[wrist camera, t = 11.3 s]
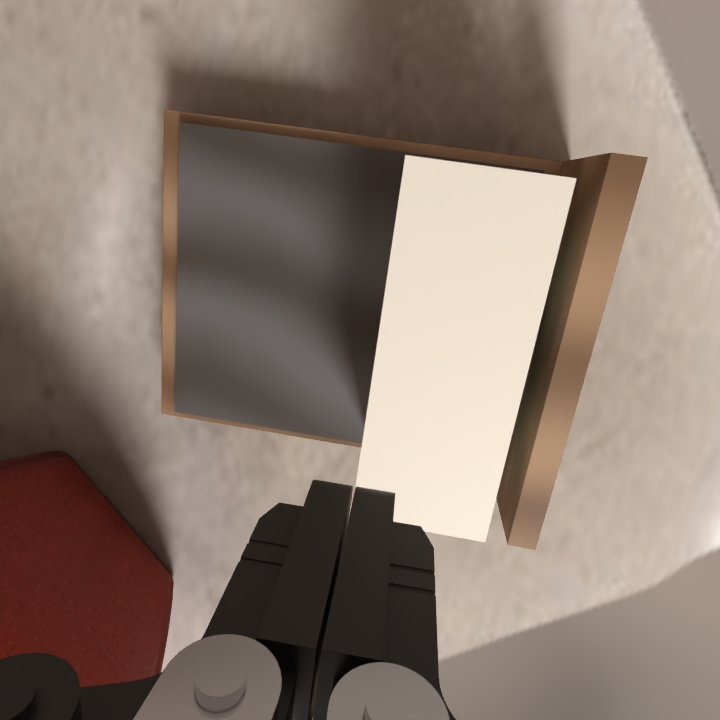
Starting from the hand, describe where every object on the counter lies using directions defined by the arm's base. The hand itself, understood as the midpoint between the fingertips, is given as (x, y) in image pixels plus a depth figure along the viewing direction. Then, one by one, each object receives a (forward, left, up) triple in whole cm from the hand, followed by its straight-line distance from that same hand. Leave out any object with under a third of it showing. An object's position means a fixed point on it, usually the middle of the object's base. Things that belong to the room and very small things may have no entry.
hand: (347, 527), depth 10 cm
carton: (0, 0, -14) cm, 14 cm away
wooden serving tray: (0, -2, -21) cm, 21 cm away
